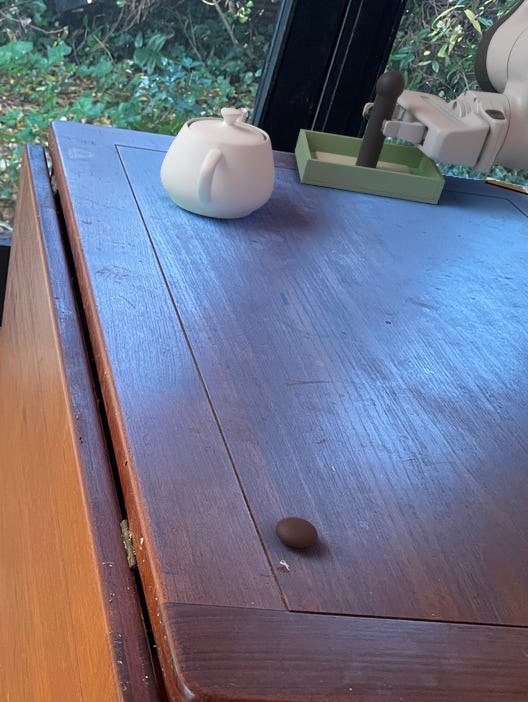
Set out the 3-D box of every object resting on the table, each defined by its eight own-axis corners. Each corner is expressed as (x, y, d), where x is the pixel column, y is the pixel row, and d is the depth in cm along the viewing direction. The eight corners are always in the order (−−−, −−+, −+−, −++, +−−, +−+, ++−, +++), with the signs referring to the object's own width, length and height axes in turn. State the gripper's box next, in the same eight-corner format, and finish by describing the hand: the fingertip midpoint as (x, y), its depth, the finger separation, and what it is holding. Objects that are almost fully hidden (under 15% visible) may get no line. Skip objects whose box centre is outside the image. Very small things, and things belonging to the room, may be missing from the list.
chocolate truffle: (266, 542, 70) (272, 524, 69) (281, 523, 72) (287, 505, 71) (305, 559, 69) (312, 541, 68) (320, 539, 71) (326, 522, 70)
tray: (420, 171, 142) (428, 149, 140) (436, 204, 132) (445, 181, 130) (294, 151, 143) (300, 128, 141) (301, 183, 132) (307, 159, 130)
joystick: (405, 169, 140) (439, 70, 132) (415, 190, 134) (451, 87, 125) (314, 155, 141) (342, 54, 132) (319, 175, 134) (349, 70, 125)
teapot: (252, 245, 113) (277, 144, 106) (136, 218, 115) (154, 118, 108) (279, 190, 129) (303, 98, 122) (178, 167, 131) (195, 76, 124)
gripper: (449, 81, 140) (356, 71, 138) (513, 125, 125) (410, 115, 123) (432, 130, 144) (342, 121, 142) (492, 178, 129) (392, 169, 127)
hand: (374, 118), depth 132 cm, fingers open, 6 cm apart
